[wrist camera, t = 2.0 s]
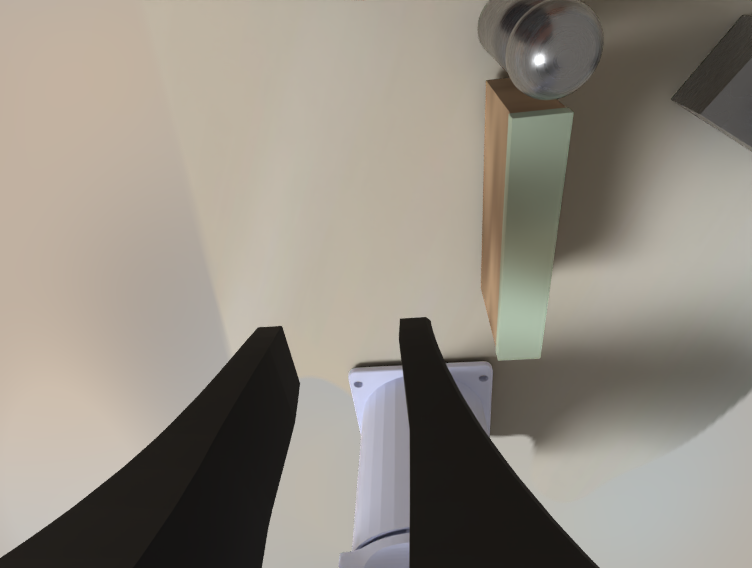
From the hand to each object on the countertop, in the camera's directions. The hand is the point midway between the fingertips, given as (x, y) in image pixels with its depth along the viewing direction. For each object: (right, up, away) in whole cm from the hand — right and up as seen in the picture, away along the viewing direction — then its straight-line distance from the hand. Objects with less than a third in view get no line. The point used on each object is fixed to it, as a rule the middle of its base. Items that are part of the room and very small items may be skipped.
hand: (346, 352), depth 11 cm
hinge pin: (+5, +11, +4) cm, 13 cm away
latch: (+15, +9, +5) cm, 18 cm away
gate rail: (+6, +5, +8) cm, 11 cm away
